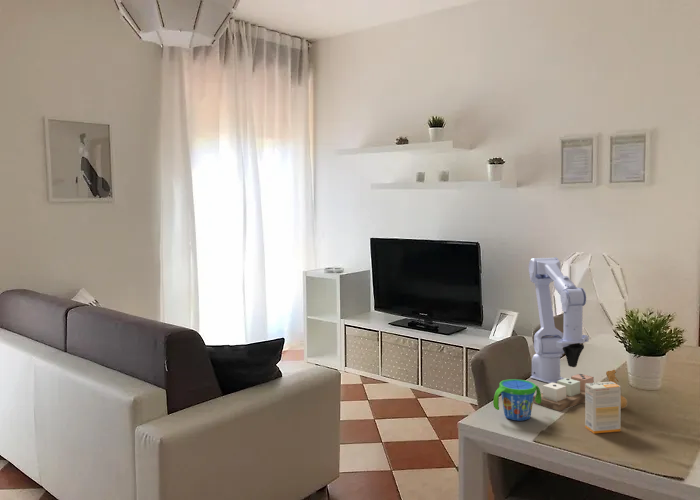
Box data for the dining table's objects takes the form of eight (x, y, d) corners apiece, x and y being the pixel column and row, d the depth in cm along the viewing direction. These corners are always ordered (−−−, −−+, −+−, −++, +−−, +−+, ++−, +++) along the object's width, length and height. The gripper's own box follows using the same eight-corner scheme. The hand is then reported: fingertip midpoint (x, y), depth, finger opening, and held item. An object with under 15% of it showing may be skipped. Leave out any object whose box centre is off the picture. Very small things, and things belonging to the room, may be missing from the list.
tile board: (559, 411, 178) (559, 404, 178) (532, 402, 186) (532, 396, 186) (603, 394, 192) (603, 388, 192) (576, 387, 200) (576, 381, 200)
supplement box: (611, 425, 166) (611, 380, 165) (621, 432, 162) (621, 386, 160) (584, 427, 165) (584, 382, 164) (593, 434, 161) (593, 388, 159)
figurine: (624, 413, 175) (625, 374, 174) (603, 410, 178) (603, 372, 177) (628, 405, 182) (629, 367, 181) (608, 402, 185) (608, 365, 184)
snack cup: (531, 408, 181) (531, 376, 180) (550, 420, 171) (550, 387, 170) (485, 413, 178) (485, 381, 177) (502, 426, 167) (502, 392, 167)
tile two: (570, 396, 185) (570, 383, 185) (557, 392, 190) (557, 380, 189) (580, 393, 188) (580, 380, 188) (566, 389, 192) (566, 377, 192)
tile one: (556, 401, 181) (556, 388, 181) (542, 397, 185) (542, 384, 185) (566, 398, 184) (566, 385, 184) (552, 394, 188) (552, 381, 188)
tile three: (584, 391, 190) (584, 379, 189) (571, 388, 194) (571, 375, 194) (593, 388, 193) (593, 376, 192) (579, 385, 197) (580, 373, 196)
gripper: (569, 330, 181) (569, 373, 182) (597, 324, 189) (596, 365, 190) (550, 326, 187) (550, 368, 188) (578, 320, 195) (577, 360, 196)
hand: (572, 366), depth 189 cm, fingers closed
